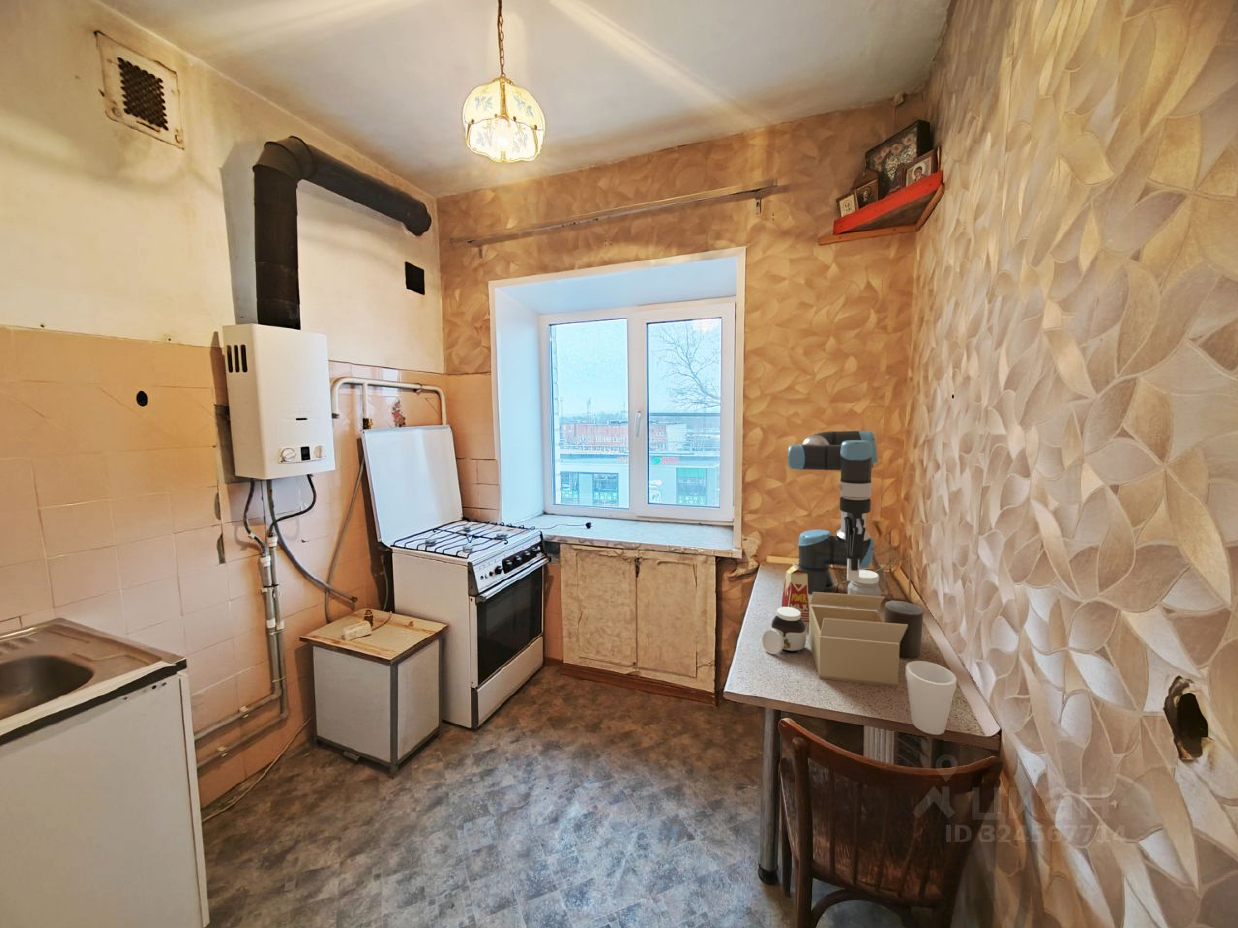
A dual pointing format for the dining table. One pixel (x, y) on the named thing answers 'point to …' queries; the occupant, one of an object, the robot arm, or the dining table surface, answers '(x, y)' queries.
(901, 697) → the dining table surface
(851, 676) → the carton
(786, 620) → the spread jar
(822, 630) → the front flap
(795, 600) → the milk carton
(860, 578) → the jar
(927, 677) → the foam cup
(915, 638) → the pillar candle
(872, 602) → the back flap
